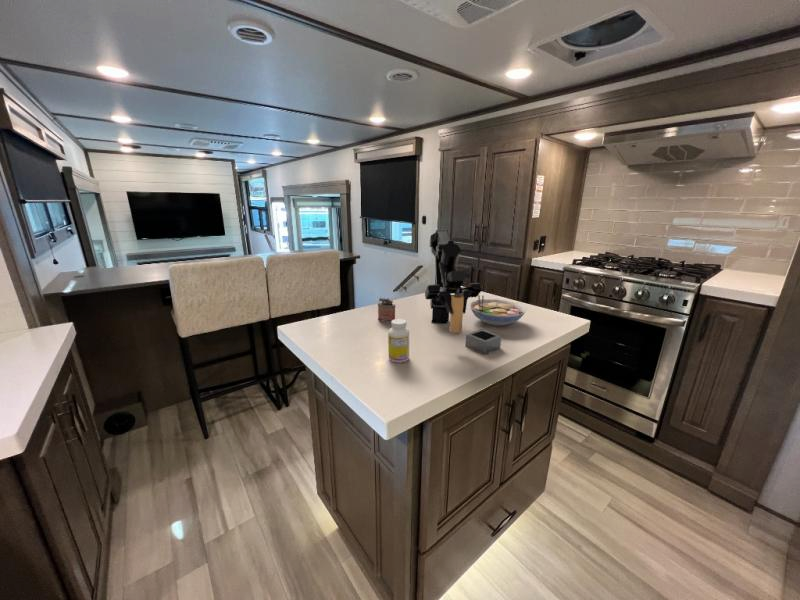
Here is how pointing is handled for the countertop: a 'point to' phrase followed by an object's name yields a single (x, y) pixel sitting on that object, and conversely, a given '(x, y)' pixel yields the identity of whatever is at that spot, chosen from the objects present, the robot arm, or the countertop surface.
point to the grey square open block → (483, 341)
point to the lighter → (386, 310)
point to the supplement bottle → (398, 341)
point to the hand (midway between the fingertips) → (458, 313)
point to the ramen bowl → (497, 311)
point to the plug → (456, 312)
